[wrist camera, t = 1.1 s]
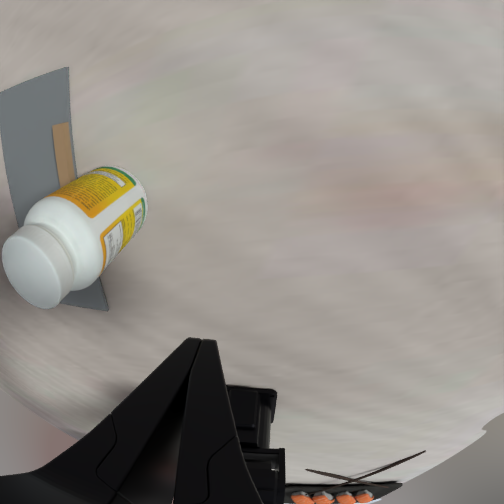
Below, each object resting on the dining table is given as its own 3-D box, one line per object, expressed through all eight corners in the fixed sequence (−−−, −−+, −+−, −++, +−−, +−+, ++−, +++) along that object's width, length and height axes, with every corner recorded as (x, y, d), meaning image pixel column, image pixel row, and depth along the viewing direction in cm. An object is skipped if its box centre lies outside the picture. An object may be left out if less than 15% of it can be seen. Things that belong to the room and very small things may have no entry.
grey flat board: (108, 309, 24) (104, 316, 24) (45, 298, 25) (40, 304, 24) (68, 67, 15) (60, 67, 14) (0, 93, 15) (-8, 94, 14)
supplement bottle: (162, 221, 20) (94, 313, 12) (105, 244, 21) (33, 327, 13) (128, 149, 18) (29, 204, 9) (73, 181, 19) (-20, 244, 11)
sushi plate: (261, 494, 51) (260, 508, 48) (316, 449, 36) (317, 472, 33) (372, 495, 53) (373, 507, 49) (453, 444, 38) (457, 460, 35)
